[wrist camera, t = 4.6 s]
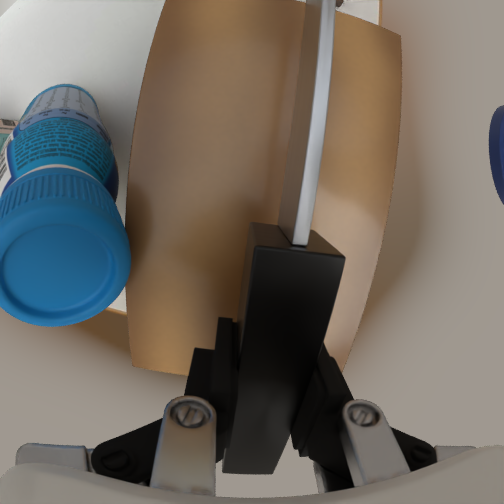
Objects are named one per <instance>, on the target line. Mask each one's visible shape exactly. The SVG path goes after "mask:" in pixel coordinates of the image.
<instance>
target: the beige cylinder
mask: <svg viewBox="0 0 504 504" xmlns="http://www.w3.org/2000/svg"><path fill="white" fill-rule="evenodd" d="M18 123H19V122H18V121H17V120H4V119H0V154H1V151H2V148H3V146H4V144H5V142H6V140H7V138H8V136H9V135H10V133H11V132H12V131H13V129H14V128H15V127H16V126H17V124H18Z"/></svg>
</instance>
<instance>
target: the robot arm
mask: <svg viewBox="0 0 504 504" xmlns="http://www.w3.org/2000/svg"><path fill="white" fill-rule="evenodd" d="M237 400H238V370H237V322H233V318H226V317H218V324H217V332H216V341H215V349H214V350H212V349H204V348H196V347H195V348H194V351H193V356H192V360H191V365H190V370H189V374H188V379H187V384H186V389H185V394H184V396H180V397H177V398H175V399H173V400H171V401H170V402H169V403H168V404H167V405H166V408H165V410H164V415H163V418H161V419H159V420H157V421H155V422H153V423H150V424H148V425H146V426H143V427H141V428H138V429H136V430H134V431H131V432H129V433H126V434H124V435H121V436H119V437H116V438H113V439H111V440H108V441H106V442H103V443H101V444H99V445H98V446H97V447H96V448H95V449H86V447H85V446H71V445H51V444H39V443H27V444H24V445H22V446H21V447H20V448H19V449H18V451H17V454H16V465H15V466H14V467H12V468H11V469H9V470H8V471H7V472H6V473H5V474H4V475H3V476H2V477H1V478H0V504H504V446H502V445H494V446H484V447H479V448H476V447H472V446H435V447H434V448H433V447H432V446H431V445H430V444H428V443H427V442H425V441H422V440H420V439H417V438H415V437H413V436H410V435H408V434H405V433H403V432H401V431H399V430H396V429H394V428H392V427H390V426H389V424H388V422H387V420H386V418H385V416H384V414H383V412H382V410H381V409H380V408H379V407H378V406H377V405H376V404H374V403H372V402H370V401H367V400H362V399H356V400H354V399H353V396H352V394H351V392H350V390H349V388H348V386H347V383H346V381H345V379H344V377H343V375H342V373H341V371H340V368H339V366H338V364H337V362H336V360H335V358H334V357H332V356H330V355H329V353H328V351H327V349H326V347H325V344H324V342H323V345H322V349H321V352H320V355H319V358H318V361H317V364H316V367H315V370H314V373H313V374H312V377H311V380H310V383H309V386H308V389H307V391H306V394H305V397H304V399H303V402H302V405H301V407H300V410H299V413H298V415H297V418H296V420H295V423H294V425H293V428H292V430H291V438H292V443H293V448H294V449H295V450H297V449H298V451H299V456H300V457H306V456H309V458H310V459H311V460H313V461H314V463H313V464H314V465H313V466H314V471H315V476H316V482H317V487H318V492H319V494H312V495H303V496H294V497H293V496H292V497H275V498H232V497H231V498H230V497H215V469H216V463H217V462H219V461H220V460H222V459H223V458H224V452H225V449H230V443H231V437H232V431H233V425H234V418H235V412H236V406H237Z"/></svg>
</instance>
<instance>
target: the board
mask: <svg viewBox="0 0 504 504" xmlns="http://www.w3.org/2000/svg"><path fill="white" fill-rule="evenodd" d="M342 3H343V0H336V6H338V7H340V6H341V5H342Z"/></svg>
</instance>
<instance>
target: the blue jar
mask: <svg viewBox="0 0 504 504" xmlns="http://www.w3.org/2000/svg"><path fill="white" fill-rule="evenodd" d="M118 185H119V175H118V167H117V163H116V160H115V157H114V153H113V147H112V143H111V140H110V137H109V135H108V133H107V131H106V129H105V127H104V126H103V125H102V122H101V119H100V116H99V112H98V108H97V105H96V103H95V101H94V99H93V97H92V96H91V95H90V94H89V93H88V92H87V91H86V90H84V89H83V88H81V87H79V86H76V85H72V84H60V85H55V86H52V87H50V88H48V89H46V90H44V91H43V92H41V93H40V94H38V95H37V96H36V97H35V98H34V99H33V100H32V102H31V103H30V104H29V106H28V107H27V109H26V111H25V113H24V114H23V116H22V118H21V119H20V121H19V123H18V124H17V126H16V127H15V128H14V129H13V131H12V132H11V133H10V135H9V136H8V138H7V140H6V142H5V144H4V146H3V148H2V151H1V154H0V307H1V308H2V309H4V310H5V311H6V312H7V313H9V314H10V315H11V316H13V317H15V318H17V319H19V320H21V321H24V322H27V323H30V324H34V325H38V326H48V327H50V326H51V327H54V326H65V325H70V324H75V323H78V322H81V321H84V320H86V319H89V318H91V317H93V316H95V315H96V314H98V313H99V312H101V311H103V310H104V309H105V308H107V307H108V306H109V305H110V304H111V303H112V302H113V301H114V300H115V299H116V298H117V297H118V296H119V294H120V293H121V292H122V290H123V288H124V287H125V285H126V283H127V280H128V277H129V274H130V269H131V251H130V244H129V239H128V236H127V233H126V230H125V228H124V225H123V222H122V219H121V216H120V214H119V211H118V209H117V206H116V204H115V203H116V199H117V194H118Z"/></svg>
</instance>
